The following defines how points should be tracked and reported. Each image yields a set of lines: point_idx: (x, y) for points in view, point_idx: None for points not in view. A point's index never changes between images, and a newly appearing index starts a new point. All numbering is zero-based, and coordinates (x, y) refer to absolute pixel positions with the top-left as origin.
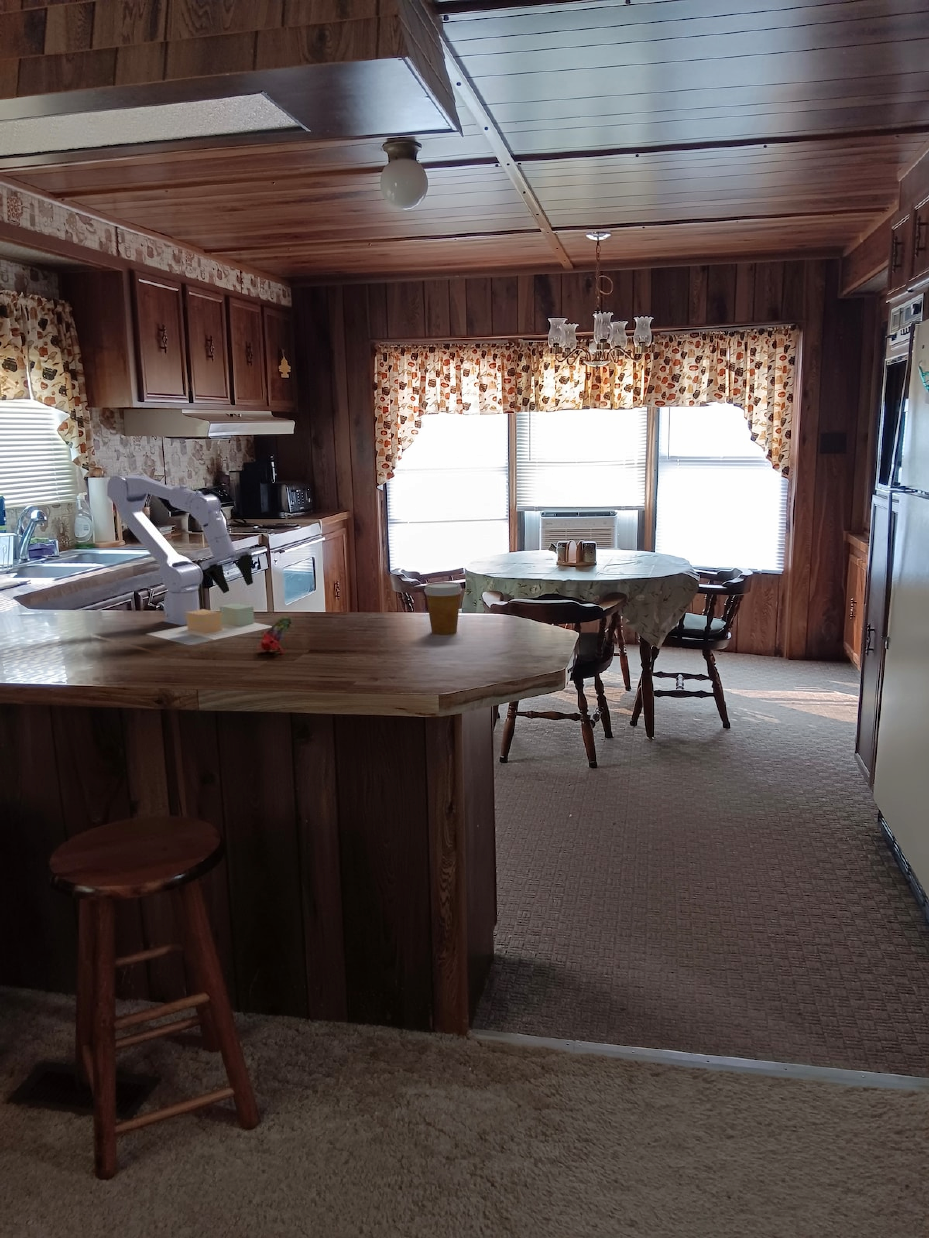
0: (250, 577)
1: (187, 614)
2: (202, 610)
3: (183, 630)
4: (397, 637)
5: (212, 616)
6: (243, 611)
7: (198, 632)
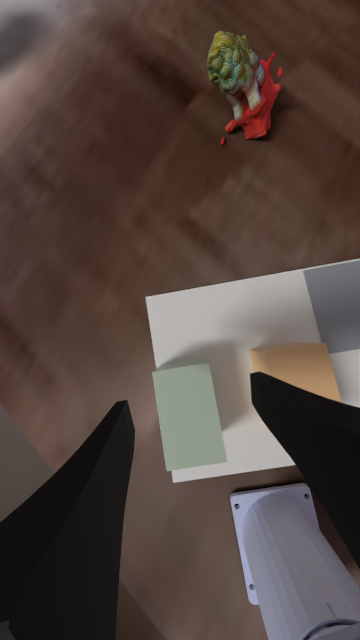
0: (114, 416)
1: None
2: None
3: None
4: (32, 94)
5: (292, 347)
6: (188, 364)
7: None
